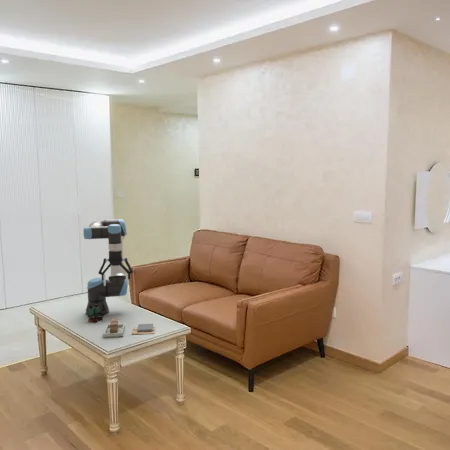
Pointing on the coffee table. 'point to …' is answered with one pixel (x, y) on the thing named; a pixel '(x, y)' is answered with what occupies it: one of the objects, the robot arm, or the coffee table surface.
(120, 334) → the tray
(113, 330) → the block
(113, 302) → the coffee table surface
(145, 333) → the cork mat
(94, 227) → the robot arm
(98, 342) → the coffee table surface
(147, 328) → the grey square tile
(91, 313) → the binoculars
